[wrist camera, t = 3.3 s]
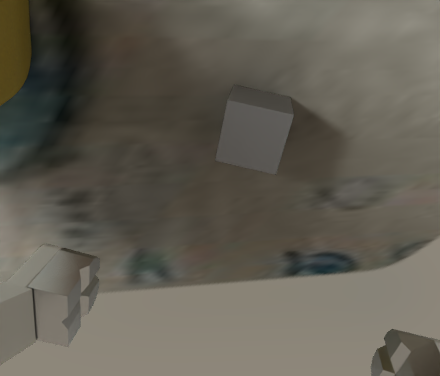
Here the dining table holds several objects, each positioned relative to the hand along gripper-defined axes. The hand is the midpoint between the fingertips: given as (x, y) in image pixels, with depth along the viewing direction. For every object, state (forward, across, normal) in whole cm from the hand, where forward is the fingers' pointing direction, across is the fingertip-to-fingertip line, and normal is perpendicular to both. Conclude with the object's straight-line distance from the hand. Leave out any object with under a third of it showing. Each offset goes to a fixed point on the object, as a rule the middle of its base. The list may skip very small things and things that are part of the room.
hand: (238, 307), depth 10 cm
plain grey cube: (+18, 0, 0) cm, 18 cm away
